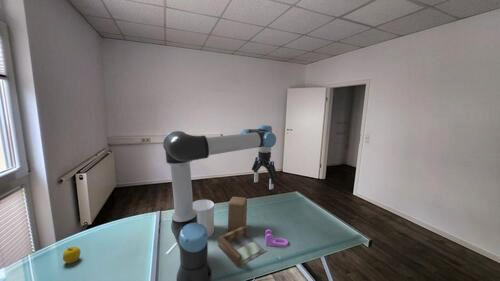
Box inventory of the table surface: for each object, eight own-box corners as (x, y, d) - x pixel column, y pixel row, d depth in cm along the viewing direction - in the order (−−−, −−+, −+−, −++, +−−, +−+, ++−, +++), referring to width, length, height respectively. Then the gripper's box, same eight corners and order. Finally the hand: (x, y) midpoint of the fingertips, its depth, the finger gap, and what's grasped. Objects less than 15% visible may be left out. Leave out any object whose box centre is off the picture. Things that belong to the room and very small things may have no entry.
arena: (238, 268, 94) (238, 257, 93) (218, 246, 108) (218, 236, 107) (266, 251, 105) (266, 241, 105) (245, 234, 120) (245, 225, 119)
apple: (61, 263, 94) (59, 248, 92) (78, 255, 99) (77, 241, 98) (65, 269, 90) (63, 253, 89) (83, 260, 95) (81, 246, 94)
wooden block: (243, 235, 119) (243, 204, 116) (227, 232, 121) (227, 202, 118) (246, 225, 129) (247, 197, 126) (232, 223, 131) (232, 195, 128)
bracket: (265, 246, 110) (266, 235, 109) (265, 239, 115) (265, 229, 114) (288, 247, 110) (289, 235, 109) (286, 240, 115) (287, 229, 114)
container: (188, 228, 124) (187, 202, 122) (210, 223, 131) (210, 197, 128) (193, 241, 112) (192, 212, 109) (217, 235, 118) (217, 207, 116)
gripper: (285, 154, 108) (282, 190, 111) (255, 147, 127) (254, 178, 131) (275, 156, 104) (273, 193, 107) (246, 148, 123) (246, 180, 126)
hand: (263, 185), depth 119 cm, fingers open, 13 cm apart
